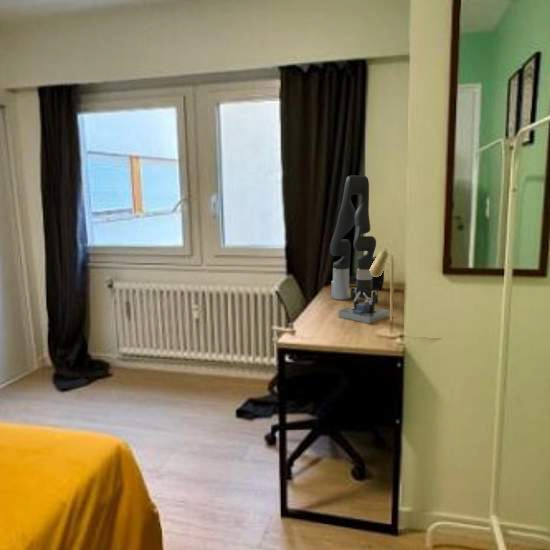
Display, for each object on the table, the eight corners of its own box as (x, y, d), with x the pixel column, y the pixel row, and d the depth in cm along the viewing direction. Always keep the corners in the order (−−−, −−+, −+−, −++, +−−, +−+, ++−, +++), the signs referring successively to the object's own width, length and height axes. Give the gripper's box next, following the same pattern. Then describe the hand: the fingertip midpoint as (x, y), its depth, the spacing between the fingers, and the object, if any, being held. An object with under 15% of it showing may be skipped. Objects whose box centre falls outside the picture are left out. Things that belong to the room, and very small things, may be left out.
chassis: (338, 316, 244) (338, 310, 244) (358, 310, 256) (358, 304, 256) (369, 323, 232) (369, 317, 231) (389, 316, 244) (389, 310, 243)
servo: (352, 317, 241) (352, 303, 239) (367, 312, 250) (368, 298, 249) (359, 319, 238) (359, 305, 237) (374, 313, 247) (375, 300, 246)
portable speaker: (385, 290, 300) (386, 258, 296) (370, 290, 299) (370, 258, 296) (381, 287, 308) (381, 255, 305) (366, 287, 308) (366, 256, 304)
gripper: (381, 278, 238) (380, 311, 241) (356, 274, 248) (356, 306, 251) (372, 280, 233) (371, 314, 236) (347, 277, 243) (347, 309, 246)
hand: (363, 310), depth 243 cm, fingers open, 8 cm apart
